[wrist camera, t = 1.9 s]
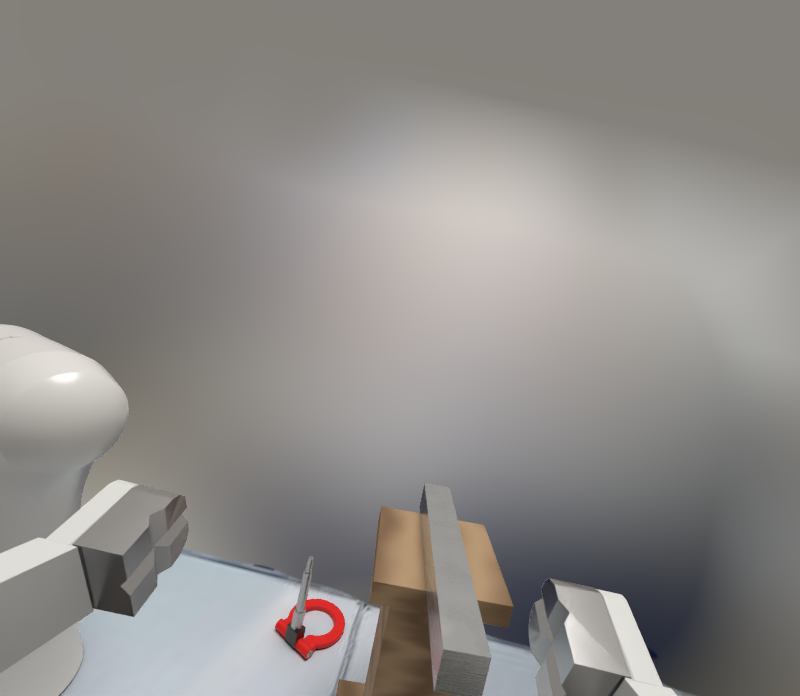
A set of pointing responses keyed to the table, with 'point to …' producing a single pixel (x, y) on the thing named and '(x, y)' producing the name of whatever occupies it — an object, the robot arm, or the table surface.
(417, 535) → the walnut stand
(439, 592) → the metal block
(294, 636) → the tow hook
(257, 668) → the table surface
